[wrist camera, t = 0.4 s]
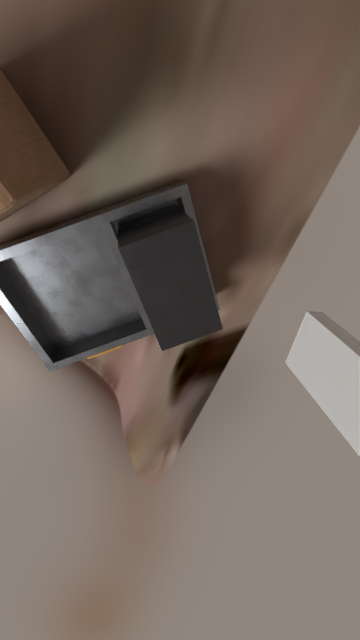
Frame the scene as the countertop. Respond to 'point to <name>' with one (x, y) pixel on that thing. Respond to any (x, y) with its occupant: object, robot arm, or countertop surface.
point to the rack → (111, 279)
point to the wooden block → (23, 155)
